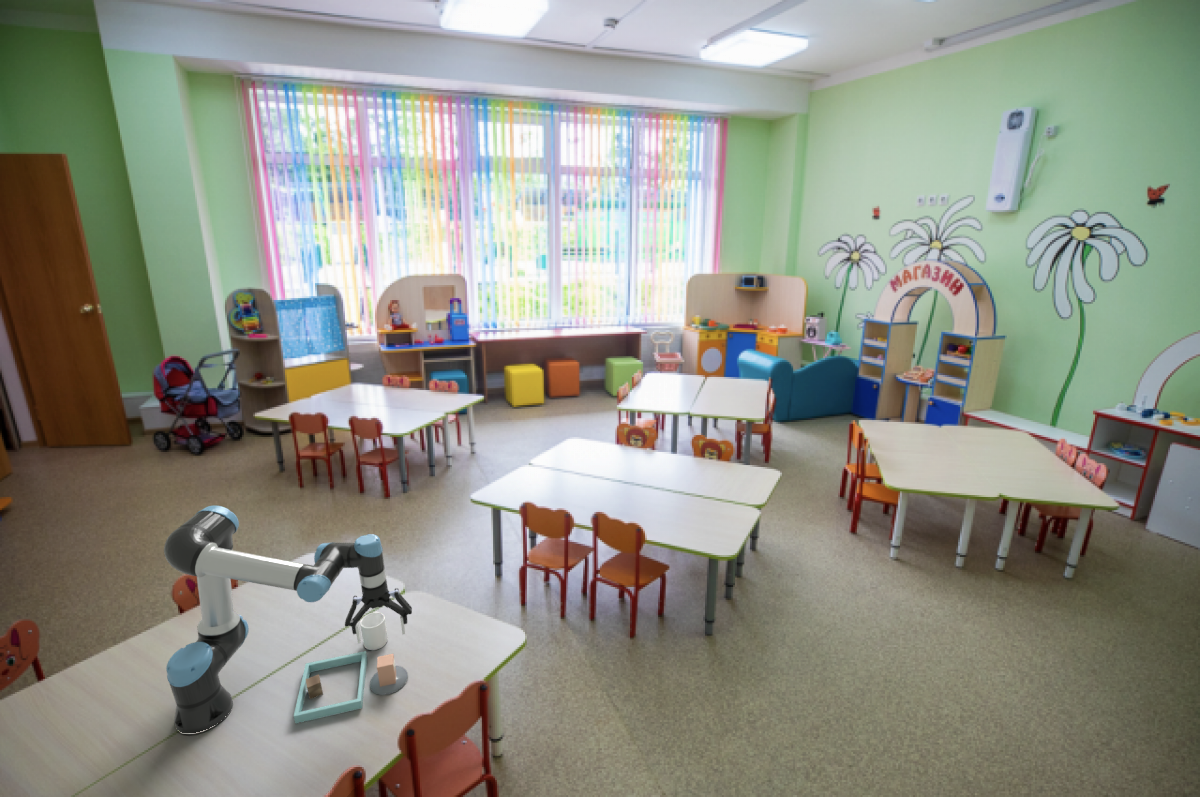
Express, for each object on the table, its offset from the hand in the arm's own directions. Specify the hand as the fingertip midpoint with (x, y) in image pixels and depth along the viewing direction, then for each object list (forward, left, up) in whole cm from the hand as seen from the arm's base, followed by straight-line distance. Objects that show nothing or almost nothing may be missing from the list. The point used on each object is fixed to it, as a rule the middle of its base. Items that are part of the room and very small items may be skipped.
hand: (381, 636), depth 187 cm
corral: (-17, +2, -19) cm, 26 cm away
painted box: (0, 0, -18) cm, 18 cm away
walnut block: (-23, +2, -19) cm, 30 cm away
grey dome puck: (0, 0, -19) cm, 19 cm away
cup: (-5, +22, -19) cm, 29 cm away
